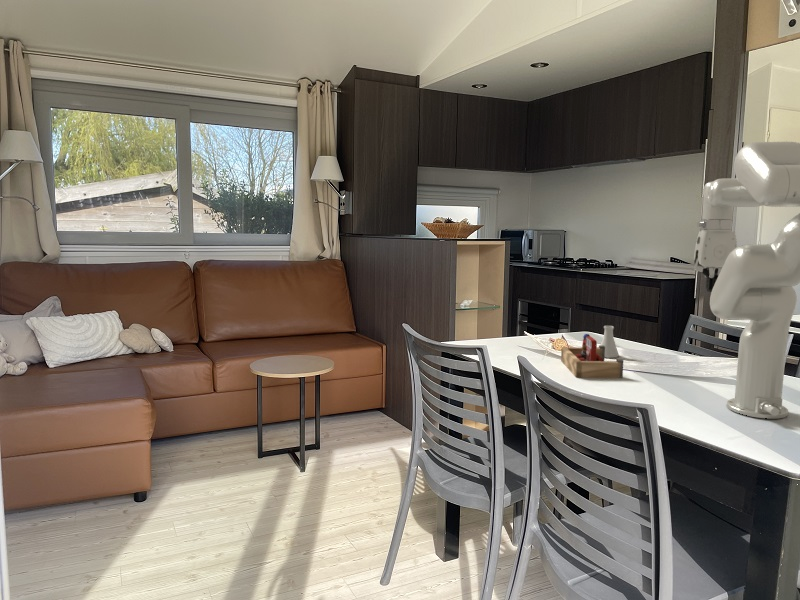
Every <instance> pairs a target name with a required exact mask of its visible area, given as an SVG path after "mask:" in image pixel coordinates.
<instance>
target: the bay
mask: <svg viewBox="0 0 800 600" xmlns="http://www.w3.org/2000/svg"><path fill="white" fill-rule="evenodd" d="M581 353H582V346H579V347H577V346H575V347H574V346H573V347H568V346H566V347H564V346H563V347H561V357H560V361H561V362H562V364H563V365H564V366H565V367H566V368H567V369H568V370H569V371H570V373H572V374H573V376H574V377H575V378H596V379H597V378H598V379H601V378H602V379H604V378H605V379H607V378H610V379H623V378H624V377H623V375H624V360H623V358H615V359H616V361H614V360H613V361H611V360H610V361H609V360H608V361H607V360H605V358H606V357H605V346H603V345H598V347H597V349H596V354H599V356H600V358H602V359H603V361H580V360H579V359H578V358H577V357H576V356H575V355H576V354H581Z"/></svg>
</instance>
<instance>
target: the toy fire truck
mask: <svg viewBox="0 0 800 600" xmlns="http://www.w3.org/2000/svg"><path fill="white" fill-rule="evenodd" d="M581 345H582V346H581V347H582V353H581V354H576V355H575V356H576V357H577V358H578V359H579V360H580V361H603V359H602V358H600V356H599V354H596V349H597V348H598V342H597V340H596V338H594V337H592V336H591V335H590V334H589V333H585V334H584V335H583V337H582V344H581Z"/></svg>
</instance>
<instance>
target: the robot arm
mask: <svg viewBox="0 0 800 600" xmlns="http://www.w3.org/2000/svg"><path fill="white" fill-rule="evenodd" d="M733 170H734V174H735V176H736V177H735V178H734V177H731V178H728V177H727V178H726V177H725V178H724V177H723V178H717V179H714V180H713V181H709V182H707V183H705V185H704V186H703V195H702V196H703V199H702V212H701V213H702V215H701V220H700V222H699V221H698V222H697V224H696V226H697V228H700V230H699V231H698V234H697V237H696V242H695V246H694V254H693V264H694V266H693V267H694V268H693V270H694V271H697V272H700V273H701V274H702V275H704V278H706V280H705V281H706V283H705V289H706V292H709V293H710V295H709V296H710V297H709V307H710V311H711V313H712V314H713V315H714V316H715V317H716V318H718V319H721V320H727V321H728V320H729V321H749V322H748V324H747V325H746V326H745V327H744V329H743V330H742V332H741V334H740V338H739V344H738V353H737V355H738V356H737V367H736V368H737V369H736V376H735V377H736V378H735V379H736V380H735V390H734V391H735V393H734V398H730V399H728V400H727V401H726V407H727V409H729V410H730V411H731V412H735V413H736V414H739V413H740V415H742V414H743V416H746V415H747V417H752V418H757V419H765V418H767V419H766V420H768V419H769V420H774V419H775V420H776V419H778V420H779V419H783V418H786V417H787V416H789V409H788V408H787V407H786V406H784V405H783V398H782V396H783V387H784V386H783V385H784V376H785V365H786V356H787V355H786V354H787V348H788V338H789V331H790V328H791V327H790V325H791V322H792V319H793V315H794V312H795V309H796V305H797V301H798V299H797V293H796V290H795V289H794V287H795V286H798V285H799V284H800V213H798V214H797V215H795V216H793V217H792V218H790V220H788V221H787V222H786V223H785V224H784V225H783V226H782V228H781V229H780V231H779V233H778V235H777V237H776V238H775V240H774V241H772V242H770V243H767V244H743V245H740V246H738V243H737V242H738V241H737V235H736V232H735V231H732V230H733V220H734V219H733V217H734V216H733V215H734V208H757V207H762V206H765V207H771V208H773V207H775V208H778V207H779V208H781V207H784V208H787V207H789V208H790V207H791V208H792V207H793V208H794V207H795V208H797V207H798V208H800V142H796V141H755V142H754V141H753V142H750V143H748V144H746V145H744V146H743V147H741V148H740V150H739V151H738V152H737V154H736V155H735V158H734V163H733Z"/></svg>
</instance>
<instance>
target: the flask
mask: <svg viewBox="0 0 800 600" xmlns="http://www.w3.org/2000/svg"><path fill="white" fill-rule="evenodd" d="M603 329H604V333H603V337H602V340H601V343H600V345H603V346H605V357H604V358H605V359H606V358H608V359H613V358H615V359H618V358H619V356H620V355H619V351H618V349H617V345H616V341H615V339H614V338H615V337H614V329H615V326H613V325H604V326H603Z"/></svg>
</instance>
